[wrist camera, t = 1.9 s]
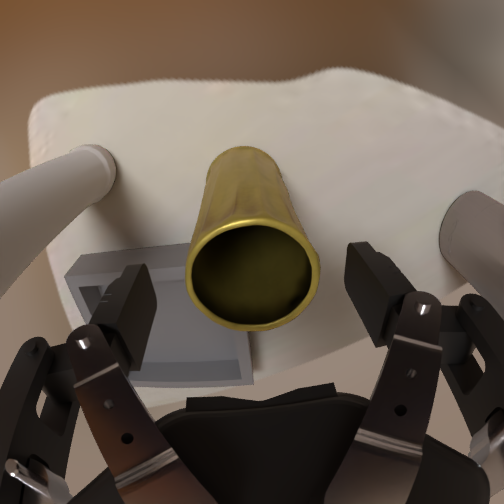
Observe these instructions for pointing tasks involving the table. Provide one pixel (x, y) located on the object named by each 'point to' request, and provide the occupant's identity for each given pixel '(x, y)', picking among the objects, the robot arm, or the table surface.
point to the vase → (249, 247)
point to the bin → (168, 321)
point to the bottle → (48, 204)
